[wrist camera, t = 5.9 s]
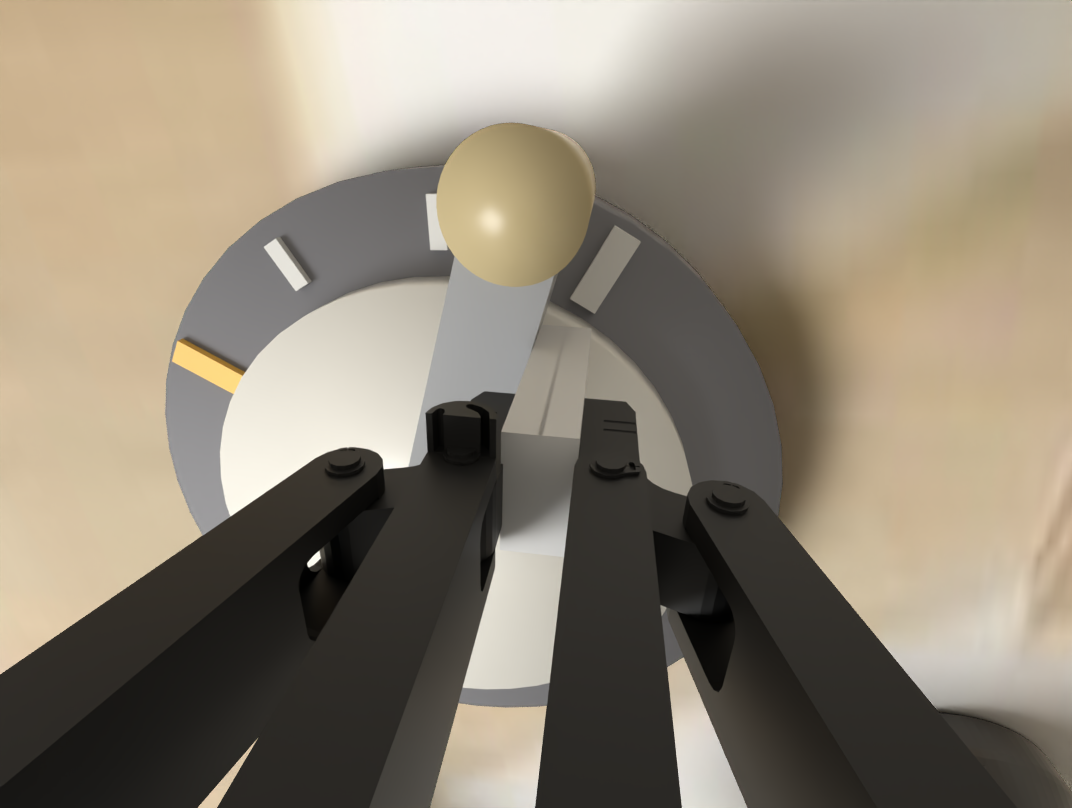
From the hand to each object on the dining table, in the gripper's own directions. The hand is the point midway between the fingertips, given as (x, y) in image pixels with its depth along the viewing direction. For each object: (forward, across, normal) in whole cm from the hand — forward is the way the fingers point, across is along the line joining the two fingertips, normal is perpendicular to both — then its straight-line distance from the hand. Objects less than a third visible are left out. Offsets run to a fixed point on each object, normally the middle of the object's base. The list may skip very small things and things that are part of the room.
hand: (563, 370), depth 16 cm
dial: (+4, +4, +5) cm, 7 cm away
